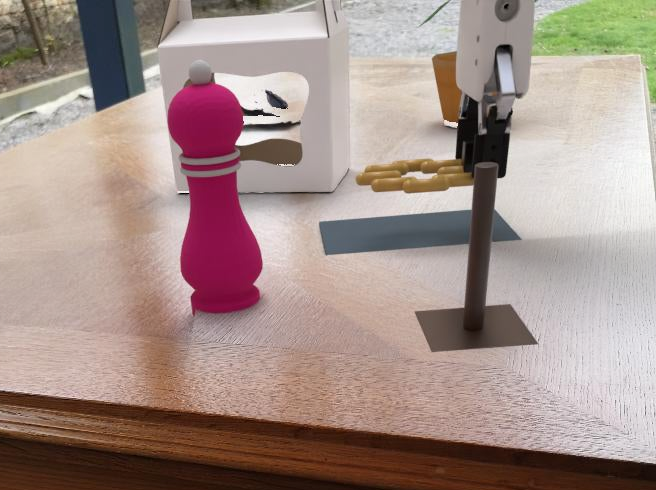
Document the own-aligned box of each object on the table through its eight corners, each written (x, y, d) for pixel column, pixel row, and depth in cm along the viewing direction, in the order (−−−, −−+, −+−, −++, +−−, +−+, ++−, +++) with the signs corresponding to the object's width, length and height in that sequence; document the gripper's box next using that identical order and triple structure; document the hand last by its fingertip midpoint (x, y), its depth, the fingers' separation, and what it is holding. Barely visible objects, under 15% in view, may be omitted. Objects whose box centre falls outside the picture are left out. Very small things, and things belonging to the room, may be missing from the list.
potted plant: (403, 137, 125) (409, -100, 108) (423, 114, 139) (432, -99, 122) (518, 136, 120) (544, -113, 102) (527, 112, 134) (552, -111, 116)
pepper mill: (250, 291, 75) (228, 50, 63) (278, 317, 69) (259, 58, 57) (178, 306, 73) (141, 61, 61) (200, 334, 67) (164, 70, 56)
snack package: (270, 117, 148) (222, 127, 142) (272, 80, 144) (223, 88, 138) (313, 135, 142) (265, 146, 136) (317, 96, 138) (267, 106, 132)
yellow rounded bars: (483, 165, 82) (486, 130, 80) (506, 188, 75) (510, 149, 73) (351, 174, 83) (351, 140, 81) (360, 198, 75) (360, 160, 73)
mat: (493, 212, 89) (493, 207, 89) (539, 264, 75) (539, 259, 75) (319, 225, 90) (319, 221, 90) (331, 280, 76) (331, 275, 75)
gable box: (352, 168, 111) (349, -78, 95) (335, 193, 101) (328, -77, 85) (205, 170, 117) (178, -62, 100) (174, 194, 106) (139, -59, 90)
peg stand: (509, 317, 65) (528, 147, 58) (536, 358, 59) (562, 173, 51) (413, 324, 66) (419, 156, 58) (430, 366, 59) (440, 183, 51)
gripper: (574, -53, 61) (542, 188, 71) (514, -54, 75) (495, 148, 85) (477, -45, 61) (460, 194, 71) (436, -48, 75) (426, 153, 85)
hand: (479, 167), depth 78 cm, fingers closed on yellow rounded bars, 6 cm apart
